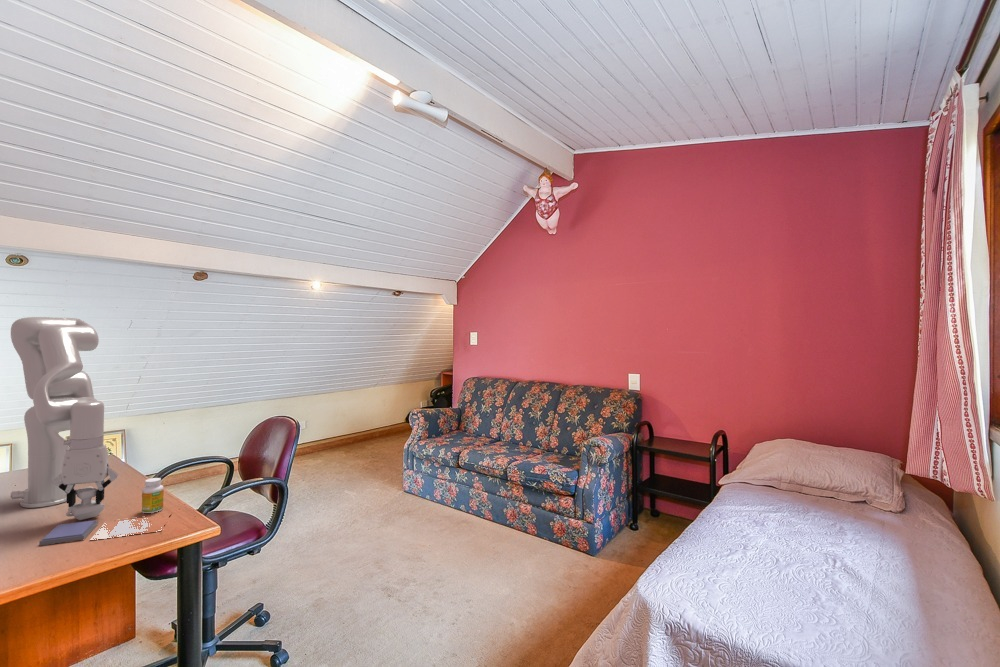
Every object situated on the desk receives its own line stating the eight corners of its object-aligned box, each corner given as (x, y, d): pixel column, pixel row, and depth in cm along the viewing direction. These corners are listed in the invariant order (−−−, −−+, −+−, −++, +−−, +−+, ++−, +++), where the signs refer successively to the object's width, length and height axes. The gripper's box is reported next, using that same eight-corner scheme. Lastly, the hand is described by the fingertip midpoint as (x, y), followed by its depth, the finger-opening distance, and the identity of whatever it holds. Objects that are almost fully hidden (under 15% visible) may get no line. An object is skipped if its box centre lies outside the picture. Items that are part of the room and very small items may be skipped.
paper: (89, 541, 126) (89, 540, 126) (106, 521, 139) (106, 520, 139) (161, 531, 133) (161, 530, 133) (171, 513, 146) (172, 513, 146)
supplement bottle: (151, 515, 145) (152, 483, 144) (137, 513, 146) (137, 481, 146) (167, 508, 150) (168, 477, 150) (153, 507, 151) (153, 476, 151)
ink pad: (39, 546, 123) (39, 540, 123) (57, 529, 133) (57, 524, 133) (83, 540, 127) (83, 534, 127) (98, 524, 137) (98, 519, 137)
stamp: (69, 525, 136) (70, 495, 136) (62, 519, 139) (62, 490, 139) (108, 515, 143) (109, 487, 143) (100, 510, 147) (101, 482, 147)
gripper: (43, 448, 134) (41, 512, 134) (119, 444, 141) (117, 504, 141) (54, 442, 141) (53, 503, 141) (126, 438, 148) (125, 496, 148)
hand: (85, 503), depth 141 cm, fingers closed on stamp, 5 cm apart
